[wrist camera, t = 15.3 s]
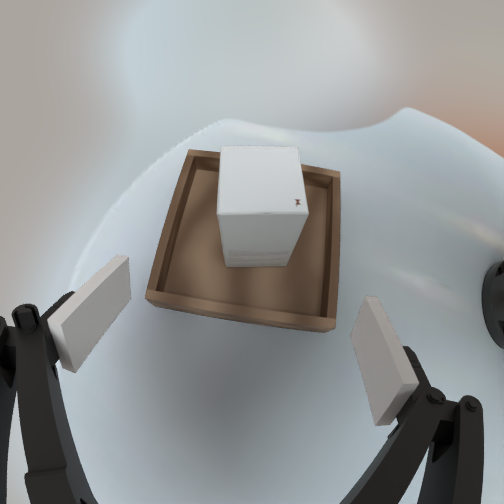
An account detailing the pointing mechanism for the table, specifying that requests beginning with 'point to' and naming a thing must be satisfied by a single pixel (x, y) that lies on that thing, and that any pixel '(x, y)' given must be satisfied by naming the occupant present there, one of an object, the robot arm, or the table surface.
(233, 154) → the supplement box
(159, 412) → the table surface
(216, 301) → the box
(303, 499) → the table surface
